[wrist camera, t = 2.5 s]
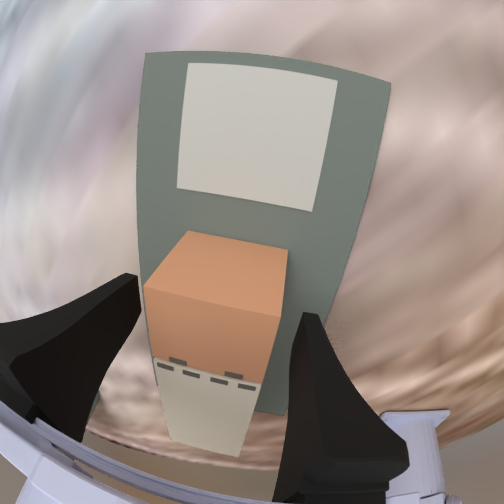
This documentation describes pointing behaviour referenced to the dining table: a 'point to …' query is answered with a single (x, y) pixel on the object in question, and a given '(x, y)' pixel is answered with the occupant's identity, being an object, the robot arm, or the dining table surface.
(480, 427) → the dining table surface
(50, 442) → the robot arm
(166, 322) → the stub
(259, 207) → the mat
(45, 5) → the dining table surface
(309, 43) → the dining table surface
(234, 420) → the cream rectangular block
